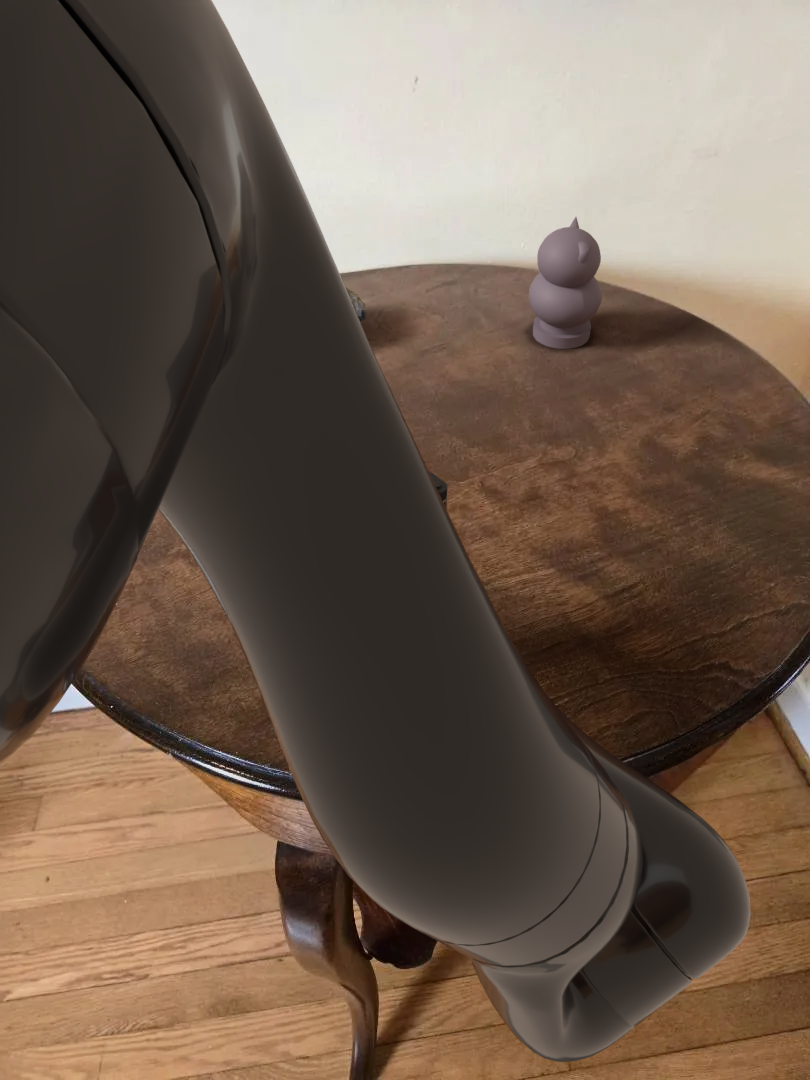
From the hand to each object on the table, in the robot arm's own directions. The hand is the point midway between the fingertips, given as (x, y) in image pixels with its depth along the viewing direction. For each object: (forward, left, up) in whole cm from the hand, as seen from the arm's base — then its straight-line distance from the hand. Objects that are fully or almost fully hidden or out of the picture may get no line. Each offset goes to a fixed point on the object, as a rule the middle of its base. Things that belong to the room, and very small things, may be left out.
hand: (277, 444), depth 53 cm
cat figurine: (+49, +5, -17) cm, 52 cm away
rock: (+33, +27, -17) cm, 46 cm away
